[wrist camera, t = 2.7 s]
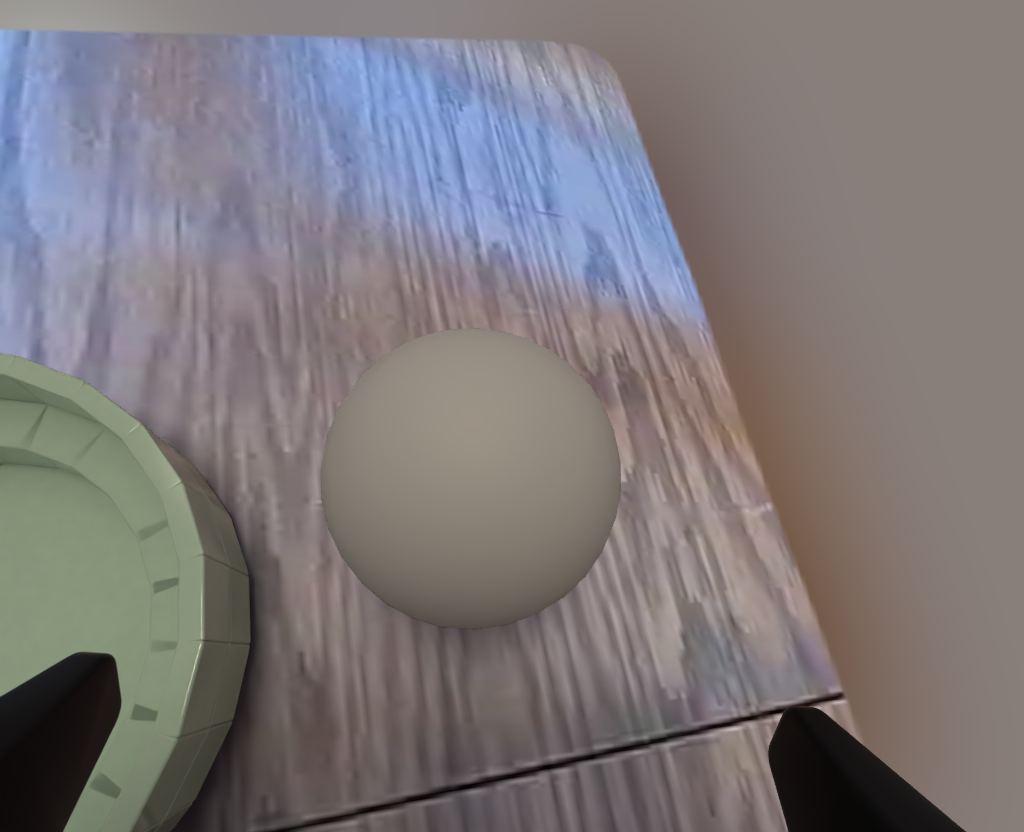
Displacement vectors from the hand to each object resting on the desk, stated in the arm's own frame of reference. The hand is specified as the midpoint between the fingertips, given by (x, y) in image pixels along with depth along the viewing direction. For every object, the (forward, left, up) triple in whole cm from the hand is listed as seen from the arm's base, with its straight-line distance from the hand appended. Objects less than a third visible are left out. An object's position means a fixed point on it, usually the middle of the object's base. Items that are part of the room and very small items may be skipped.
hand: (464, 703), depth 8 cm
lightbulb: (+4, -1, -11) cm, 12 cm away
